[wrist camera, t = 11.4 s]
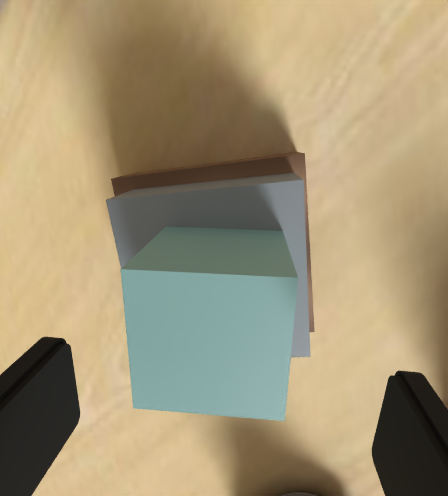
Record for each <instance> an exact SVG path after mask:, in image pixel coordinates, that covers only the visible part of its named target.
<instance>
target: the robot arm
mask: <svg viewBox="0 0 448 496" xmlns="http://www.w3.org/2000/svg"><path fill="white" fill-rule="evenodd" d="M79 418H80V407H79V400H78V393H77V387H76V380H75V373H74V366H73V359H72V352H71V347H70V345H69V344H67V343H66V341H65V339H63V338H54V337H43V338H41V339H40V340H39V341H38V342H36V343H35V344H34V345H33V346H32V347H31V348H30V349H29V350H28V351H26V352H25V353H24V354H23V355H22V356H21V357H20V358H19V359H18V360H16V361H15V362H14V363H13V364H12V365H11V366H10V367H9V368H8V369H6V370H5V371H4V372H3V373H2V374H1V375H0V496H31V495H32V494H33V492H34V491H35V489H36V488H37V486H38V485H39V483H40V482H41V480H42V478H43V477H44V475H45V474H46V472H47V471H48V469H49V468H50V466H51V465H52V463H53V461H54V460H55V458H56V457H57V455H58V454H59V452H60V451H61V449H62V448H63V446H64V444H65V443H66V441H67V440H68V438H69V437H70V435H71V434H72V432H73V431H74V429H75V427H76V426H77V424H78V421H79ZM372 457H373V462H374V465H375V468H376V471H377V474H378V476H379V479H380V482H381V485H382V488H383V491H384V494H385V496H448V410H447V408H446V407H445V405H444V404H443V402H442V401H441V399H440V398H439V397H438V395H437V394H436V392H435V391H434V389H433V388H432V386H431V385H430V384H429V382H428V381H427V379H426V378H425V376H424V375H423V374H421V373H418V372H408V371H397V372H396V374H395V376H390V377H389V379H388V383H387V387H386V391H385V395H384V399H383V404H382V408H381V412H380V416H379V420H378V424H377V429H376V433H375V437H374V441H373V445H372Z"/></svg>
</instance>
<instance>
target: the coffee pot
mask: <svg viewBox="0 0 448 496" xmlns="http://www.w3.org/2000/svg"><path fill="white" fill-rule="evenodd" d="M280 496H318V495H315V494H311V493H304V492H294V493H287V494H284V495H280Z"/></svg>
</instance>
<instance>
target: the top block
mask: <svg viewBox="0 0 448 496" xmlns="http://www.w3.org/2000/svg"><path fill="white" fill-rule="evenodd" d="M106 202H107V207H108V211H109V216H110V220H111V225H112V229H113V234H114V238H115V243H116V247H117V252H118V256H119V261H120V265H121V268H122V267H124V266H125V265H126V264H127V263H128V262H129V261H130V260H131V259H132V258H133V257H134V256H135V255H136V254H137V253H138V252H139V251H141V250H142V249H143V248H144V247H145V246H146V245H147V244H148V243H149V242H150V241H151V240H152V239H153V238H154V237H155V236H156V235H157V234H159V233H160V232H161V231H162V230H163V229H164V228H165V227H166V226H170V227H197V228H223V229H250V230H276V231H283V233H284V236H285V239H286V242H287V245H288V248H289V251H290V254H291V257H292V260H293V263H294V267H295V270H296V273H297V276H298V286H297V296H296V307H295V317H294V328H293V338H292V349H291V357H310V336H309V309H308V282H307V255H306V228H305V201H304V180H303V179H302V178H301V177H299V176H298V175H297V174H295V173H285V174H275V175H266V176H256V177H247V178H237V179H228V180H218V181H209V182H200V183H190V184H181V185H171V186H162V187H152V188H143V189H133V190H131V191H128V192H126V193H123V194H120V195H118V196H115V197H113V198H110V199H107V200H106Z"/></svg>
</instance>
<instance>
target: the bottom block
mask: <svg viewBox="0 0 448 496" xmlns="http://www.w3.org/2000/svg"><path fill="white" fill-rule="evenodd" d="M285 173H295V174H297V175H298V176H299V177H301V178H302V179H303V180H304V201H305V228H306V255H307V282H308V309H309V332H314V316H313V298H312V279H311V261H310V242H309V224H308V205H307V187H306V169H305V153H299V152H294V153H287V154H279V155H272V156H264V157H257V158H249V159H241V160H234V161H226V162H219V163H211V164H204V165H196V166H189V167H181V168H174V169H166V170H158V171H151V172H143V173H136V174H129V175H125V176H121V177H117V178H113V179H111V181H112V185H113V189H114V194H115V196H118V195H120V194H123V193H126V192H128V191H131V190H133V189H143V188H152V187H162V186H171V185H181V184H190V183H200V182H209V181H218V180H228V179H237V178H247V177H256V176H266V175H275V174H285Z"/></svg>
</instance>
